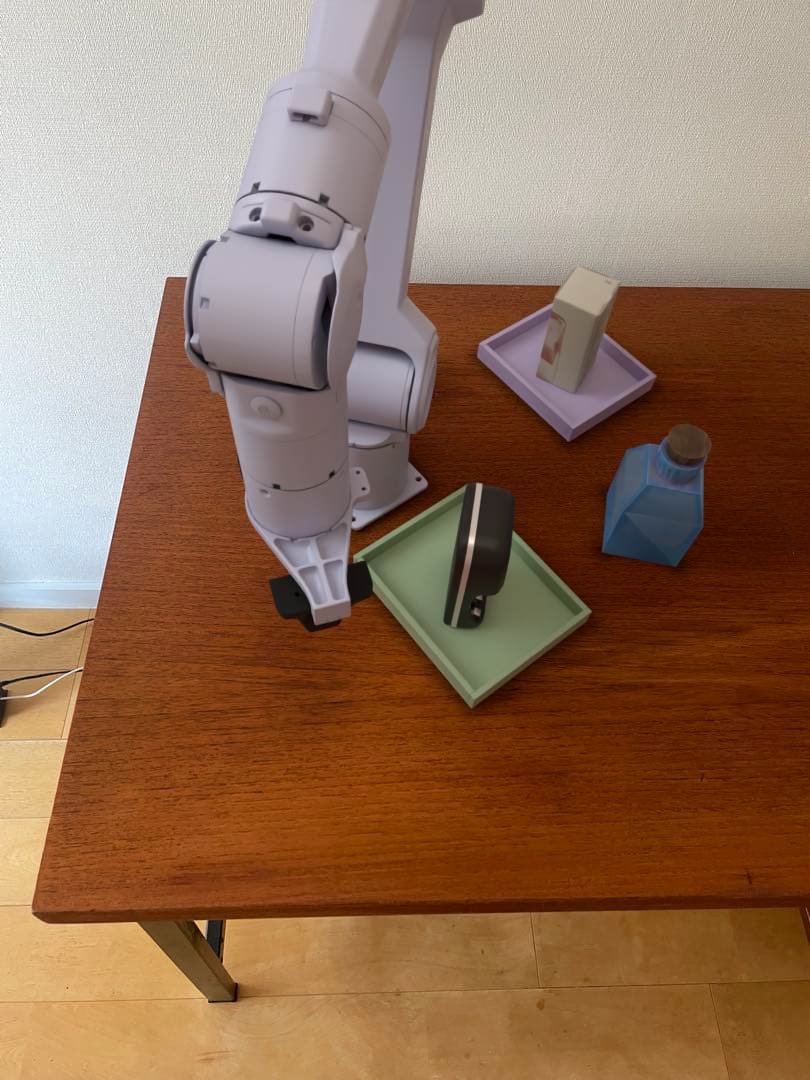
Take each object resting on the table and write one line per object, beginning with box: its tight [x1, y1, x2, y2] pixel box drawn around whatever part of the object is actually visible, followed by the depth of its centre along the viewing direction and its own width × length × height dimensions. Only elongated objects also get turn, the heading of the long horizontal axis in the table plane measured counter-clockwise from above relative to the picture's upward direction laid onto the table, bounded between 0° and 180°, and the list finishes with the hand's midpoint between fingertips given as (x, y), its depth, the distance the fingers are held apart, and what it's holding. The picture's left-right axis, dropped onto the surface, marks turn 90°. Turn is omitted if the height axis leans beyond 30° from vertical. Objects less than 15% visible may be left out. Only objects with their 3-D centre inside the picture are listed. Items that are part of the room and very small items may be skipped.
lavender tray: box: [476, 302, 657, 443], centre depth 77 cm, size 13×11×2 cm
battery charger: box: [443, 482, 516, 628], centre depth 59 cm, size 7×4×11 cm, turn 171°
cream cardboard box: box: [536, 264, 621, 394], centre depth 73 cm, size 5×4×10 cm
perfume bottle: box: [601, 423, 712, 568], centre depth 63 cm, size 6×6×12 cm
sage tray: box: [352, 483, 592, 709], centre depth 64 cm, size 15×12×2 cm
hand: (308, 573), depth 53 cm, fingers open, 7 cm apart
